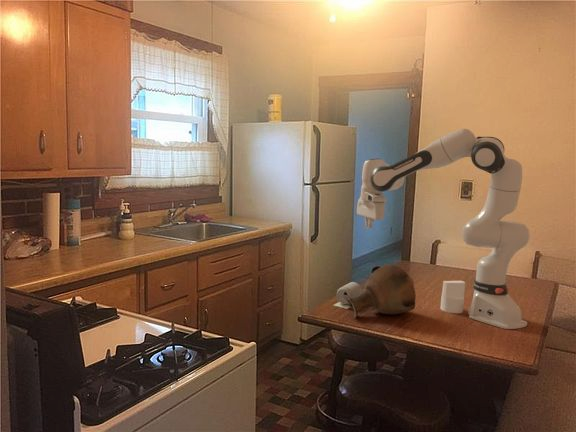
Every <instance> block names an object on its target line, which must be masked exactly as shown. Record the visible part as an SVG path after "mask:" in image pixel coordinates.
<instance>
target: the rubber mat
mask: <svg viewBox="0 0 576 432" xmlns="http://www.w3.org/2000/svg"><path fill="white" fill-rule="evenodd" d="M332 306H333V307H335V308H341V309H345V310H349V309H350V308H351V307H350V306H349V304H342V303H340V302H339V301H338V302H336V303H334V304H333V305H332ZM351 309H352V308H351Z"/></svg>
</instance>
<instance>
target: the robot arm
mask: <svg viewBox="0 0 576 432" xmlns="http://www.w3.org/2000/svg"><path fill="white" fill-rule="evenodd" d="M464 158H471V162H472V164H473V165H474V166H475V167H476V168H477V169H479V170H481V171H484V172H486V173H489V174H490V183H489V186H488V191H487V194H486V195H487V197H486V200H485V203H484V205H483V207H482V208H481V210H480V212H478V214H477V215H476V216H474V217H473V218H472V219H470V220H468V221H467V222H466V223H464V225H463V227H462V230H461V236H462V239H463V241H464V242H465V244H466V245H468V246H472V247H476V248H483V249H484V248H485V249H486V248H488V249H492V250H491V251H490V253H488V254H487V255H485V256H483V257H480V259H479V260H478V261H477V265H476V272H475V273H476V274H475V278H474V282H473V294H472V295H473V296H472V299H471V302H470V306H469V309H468V310H467V314H468V315H469V316H468V318H469V319H472V320H476V321H478V322H481V323H485V324H488V325H491V326H494V327H498V328H500V329H504V330H515V329H522V328H525V327H527V326H528V322H527V321H526V320H524V319H522V310H521V308H520V306H519V305H517V303H516V302H515V301H514V300H513V298H511V296H510V295H509V292H510V290H511V287H507V283H506V279H507V272H508V267H509V263H510V262H511V260H512V258H513V257H514V256H515V255H516V253H518V252H519V251H520V250H521V249H523V248H524V247H526V246H527V244H528V243H529V241H530V231H529V228H528V227H527V225H526V224H523V223H520V222H516V221H511V220H509V221H508V220H502V218H504V217H505V216H508V215H509V214H511V213H513V212H514V211H515V210H516V209H517V206H518V204H519V203H518V202H519V199H520V193H521V188H522V182H523V166H522V163H520V162H519V161H518V160H516V159H512V158H509V157H506V155H505V145H504V144H503V142H502V141H501V140H500V138H497V137H494V136H477V137H476V135H475V134H474V132H472V131H471V130H470V129H468V128H461V129H458V130H455V131H452V132H449V133H447V134H445V135H443V136H441V137H439V138H438V139H435V140H434V141H432V142H431V143H430V144H429V143H428V144H427V145H426V146H425V147H423V148H422V149H420V150H419V151H417V152H415V153H414V154H412V155H410V156H408V157H406V158H404V159H402V160H400V161H397V162H395V163H394V164H391V165H390V164H388V163H387V162H385V161H384V160H383V159H382V158H369V159H367V160H365V161H364V163H363V166H362V172H361V173H362V174H361V181H362V185H361V186H360V187H361V188H360V196H359V198H358V200H357V204H356V214H357V216H362V217H364V222H365V227H366V228H367V229H373V224H374V221H383V220H384V218H385V214H386V202H387V196H385V195H384V194H383V192H386V191H395V190H399V189H400V188H402V187H403V185H404V184H405V181H406V180H405V179H406V177H407V176H409V175H411V174H413V173H415V172H418V171H422V170H427V169H428V170H431V169H439V168H443V167H446V166H448V165H450V164H453V163H455V162H457V161H459V160H461V159H464Z"/></svg>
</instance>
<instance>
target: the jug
mask: <svg viewBox="0 0 576 432" xmlns="http://www.w3.org/2000/svg"><path fill="white" fill-rule="evenodd" d="M363 287H364V289H363V290H364V291H363V292H362V294H361V295H360V296H358V297H356V298H350V297H349V296H348V295H344V299H345V300H346V301H347V302H349V303H350V304H349V306H350V307H351V309H352V310H353V317H354V319H357V317H358V314H360V313H359V312H360V311H362V310H364V309H368V308H370V310H371V311H373V310H375V311H376V312H378V313H380V314H384V315H397V314H398V315H399V314H402V313H405V312H410V311H413V310H415V308H416V289H415V285H414V279H413V278H412V276H410V274H408V273H407V271H405V270H404V268H403V267H401V266H399V265H397V264H394V263H389V264H385V265H382V266H380V265H379V266H378V265H377V266H373V268H372V269H371V271H370V274H369V277H368V278H367V280H366V281H365V284H364V286H363Z"/></svg>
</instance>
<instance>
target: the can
mask: <svg viewBox="0 0 576 432" xmlns="http://www.w3.org/2000/svg"><path fill="white" fill-rule="evenodd" d="M361 294H363V289H362V286H361V285H360V284H359V283H358V282H355V281H351V282H349V283H347V284H345V285H343V286H341V287H340V288H338V289H337V292H336V299H337V301H338V302H340V303H342V304H350V303H349V302H347V301H346V300H345V299H344V295H348V296H349V297H350V298H356V297H358V296H360V295H361Z"/></svg>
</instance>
